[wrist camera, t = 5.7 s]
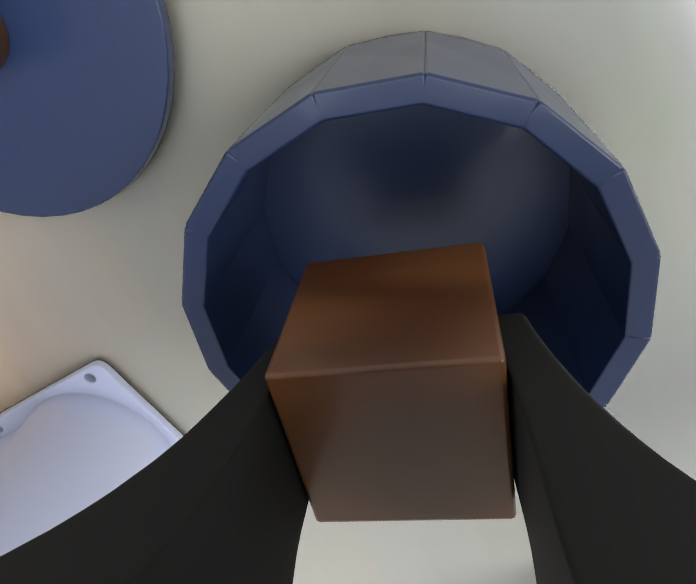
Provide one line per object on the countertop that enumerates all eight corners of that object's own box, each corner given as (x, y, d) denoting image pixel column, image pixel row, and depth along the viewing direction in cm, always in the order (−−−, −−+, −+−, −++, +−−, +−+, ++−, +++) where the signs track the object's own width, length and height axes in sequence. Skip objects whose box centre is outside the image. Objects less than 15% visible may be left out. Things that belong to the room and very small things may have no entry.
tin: (362, 379, 23) (343, 512, 18) (186, 158, 19) (89, 245, 13) (636, 266, 19) (721, 395, 13) (491, -58, 14) (529, -59, 9)
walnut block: (341, 391, 15) (316, 523, 11) (305, 261, 13) (262, 377, 9) (495, 380, 14) (516, 521, 10) (483, 239, 12) (506, 358, 8)
